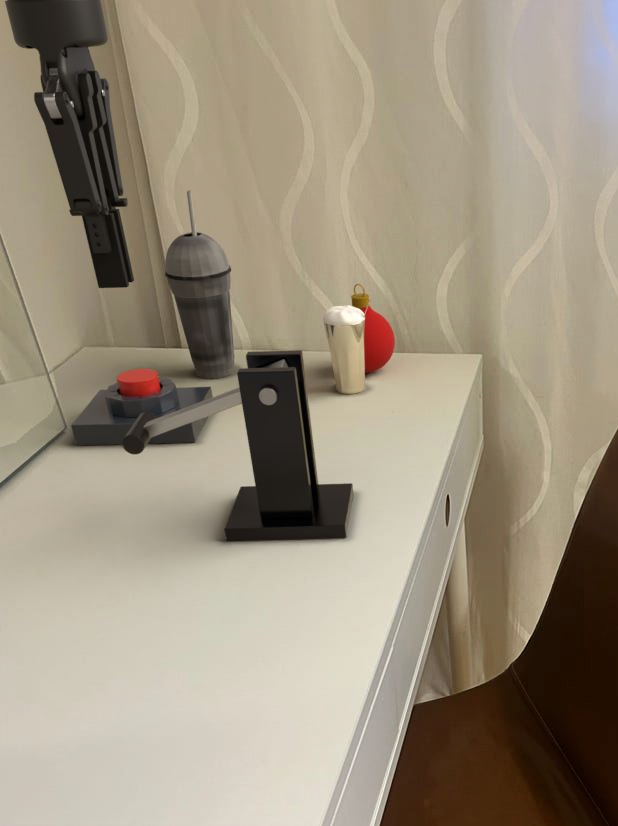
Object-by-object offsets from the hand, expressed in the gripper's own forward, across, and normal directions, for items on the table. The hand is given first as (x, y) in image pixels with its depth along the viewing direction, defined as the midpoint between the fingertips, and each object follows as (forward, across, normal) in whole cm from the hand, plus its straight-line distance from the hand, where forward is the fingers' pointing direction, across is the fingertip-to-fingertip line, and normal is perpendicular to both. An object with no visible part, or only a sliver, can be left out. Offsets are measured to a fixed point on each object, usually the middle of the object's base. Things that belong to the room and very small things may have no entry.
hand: (116, 283), depth 94 cm
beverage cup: (+15, +16, -4) cm, 22 cm away
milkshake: (+15, +9, -21) cm, 27 cm away
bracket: (+14, -22, -18) cm, 32 cm away
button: (+11, 0, 0) cm, 11 cm away
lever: (+5, -22, -13) cm, 26 cm away
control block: (+14, 0, 0) cm, 14 cm away
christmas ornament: (+15, +15, -22) cm, 30 cm away
